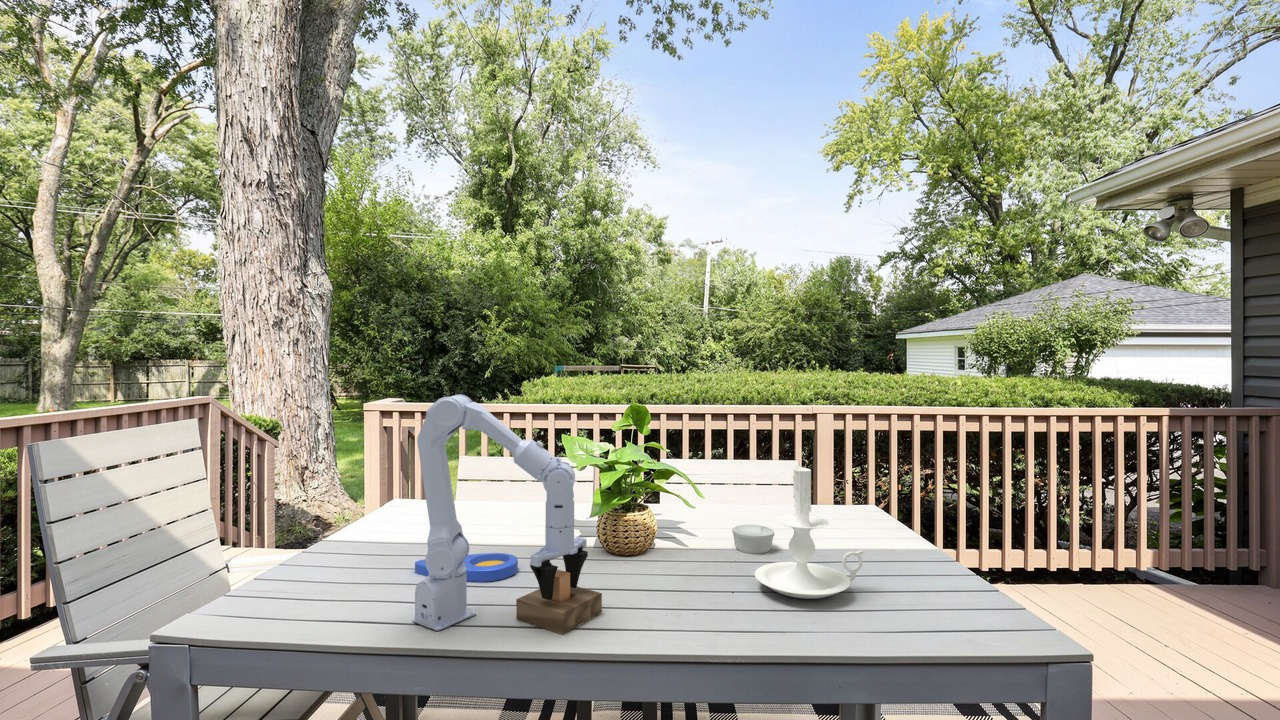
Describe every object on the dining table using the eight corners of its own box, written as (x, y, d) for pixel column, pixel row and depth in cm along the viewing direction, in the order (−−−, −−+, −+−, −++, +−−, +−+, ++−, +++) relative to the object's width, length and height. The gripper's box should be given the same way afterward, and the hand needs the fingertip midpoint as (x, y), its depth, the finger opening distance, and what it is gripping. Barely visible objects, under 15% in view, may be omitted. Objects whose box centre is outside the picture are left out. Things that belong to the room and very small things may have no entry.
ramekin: (782, 552, 163) (782, 533, 163) (746, 557, 159) (746, 537, 159) (759, 541, 174) (759, 522, 174) (724, 545, 170) (725, 526, 170)
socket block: (562, 634, 114) (562, 613, 114) (516, 619, 121) (516, 599, 121) (601, 612, 124) (601, 593, 124) (557, 599, 131) (557, 581, 131)
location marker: (403, 583, 142) (509, 583, 140) (403, 569, 142) (509, 568, 140) (426, 565, 155) (523, 564, 154) (426, 551, 155) (523, 551, 154)
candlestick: (886, 607, 127) (887, 472, 127) (770, 611, 125) (771, 474, 125) (844, 572, 148) (844, 457, 148) (744, 576, 145) (744, 458, 145)
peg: (559, 618, 120) (559, 577, 120) (547, 614, 122) (547, 574, 122) (570, 612, 123) (570, 572, 123) (558, 608, 125) (557, 569, 125)
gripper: (550, 536, 114) (549, 609, 114) (598, 519, 126) (597, 585, 126) (522, 530, 118) (522, 600, 118) (571, 514, 130) (571, 578, 130)
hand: (559, 592), depth 122 cm, fingers open, 7 cm apart
